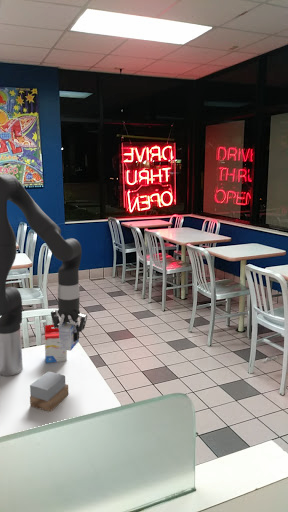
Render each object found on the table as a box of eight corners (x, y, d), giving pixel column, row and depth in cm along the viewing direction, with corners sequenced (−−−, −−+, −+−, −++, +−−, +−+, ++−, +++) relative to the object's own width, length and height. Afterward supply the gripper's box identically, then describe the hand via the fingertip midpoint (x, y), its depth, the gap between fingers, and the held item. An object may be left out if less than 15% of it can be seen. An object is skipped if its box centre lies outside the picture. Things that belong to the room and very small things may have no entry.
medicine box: (70, 351, 140) (70, 328, 138) (59, 349, 141) (58, 327, 139) (78, 341, 147) (78, 320, 145) (67, 340, 148) (67, 318, 146)
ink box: (45, 363, 160) (44, 329, 157) (45, 357, 165) (44, 324, 161) (67, 360, 162) (66, 327, 159) (66, 355, 167) (65, 323, 164)
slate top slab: (30, 396, 131) (30, 385, 130) (48, 381, 140) (48, 371, 139) (47, 401, 129) (47, 390, 128) (65, 386, 138) (65, 375, 137)
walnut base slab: (30, 407, 132) (29, 396, 131) (49, 390, 142) (48, 380, 141) (50, 412, 129) (50, 401, 128) (68, 395, 139) (68, 384, 138)
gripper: (45, 295, 138) (46, 340, 142) (81, 301, 134) (82, 347, 138) (56, 289, 145) (57, 332, 149) (91, 294, 141) (91, 338, 145)
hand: (69, 339), depth 144 cm, fingers closed on medicine box, 4 cm apart
